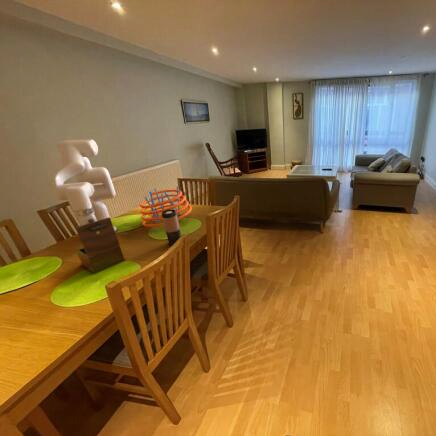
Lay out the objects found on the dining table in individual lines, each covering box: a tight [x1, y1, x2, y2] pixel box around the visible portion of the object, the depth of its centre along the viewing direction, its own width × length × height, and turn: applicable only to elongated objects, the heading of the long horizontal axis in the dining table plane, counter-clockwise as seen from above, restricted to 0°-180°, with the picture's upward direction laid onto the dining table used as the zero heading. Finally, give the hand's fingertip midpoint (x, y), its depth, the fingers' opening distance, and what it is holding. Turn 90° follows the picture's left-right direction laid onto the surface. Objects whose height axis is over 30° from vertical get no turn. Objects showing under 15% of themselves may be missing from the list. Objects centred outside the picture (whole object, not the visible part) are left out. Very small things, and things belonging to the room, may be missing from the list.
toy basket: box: [139, 185, 193, 228], centre depth 173 cm, size 34×35×24 cm
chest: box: [75, 245, 125, 274], centre depth 124 cm, size 15×14×9 cm
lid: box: [74, 217, 121, 257], centre depth 114 cm, size 15×14×5 cm
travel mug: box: [161, 209, 182, 246], centre depth 141 cm, size 8×8×20 cm
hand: (95, 242), depth 122 cm, fingers open, 9 cm apart
